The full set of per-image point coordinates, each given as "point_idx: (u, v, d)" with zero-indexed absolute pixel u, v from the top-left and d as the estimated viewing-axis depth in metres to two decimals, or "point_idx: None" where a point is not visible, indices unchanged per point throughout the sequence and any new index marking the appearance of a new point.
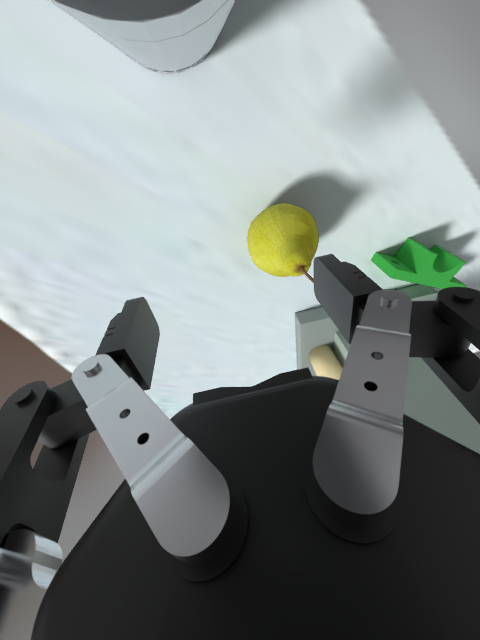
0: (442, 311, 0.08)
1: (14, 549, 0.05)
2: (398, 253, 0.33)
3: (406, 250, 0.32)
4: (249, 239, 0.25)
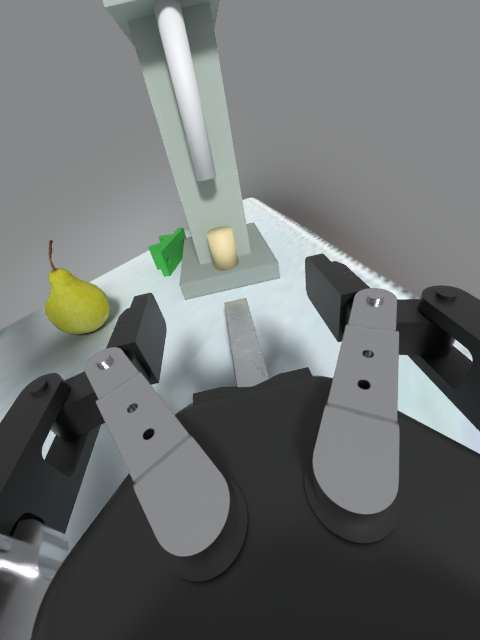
0: (427, 310, 0.08)
1: (22, 538, 0.05)
2: None
3: None
4: (57, 321, 0.31)
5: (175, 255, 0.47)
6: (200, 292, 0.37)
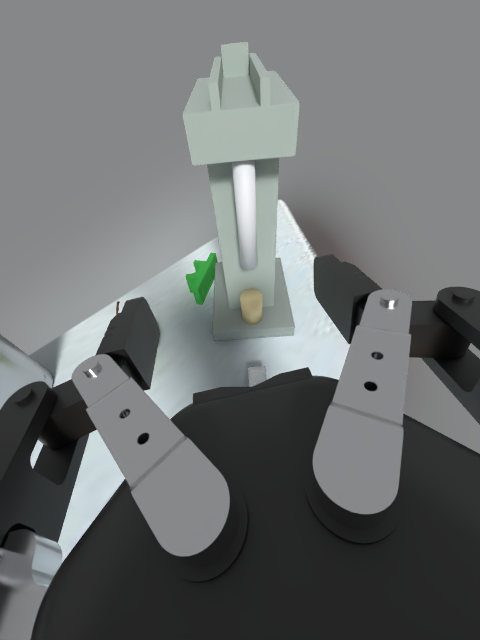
0: (442, 311, 0.08)
1: (14, 549, 0.05)
2: None
3: None
4: None
5: (207, 283, 0.54)
6: (227, 337, 0.46)
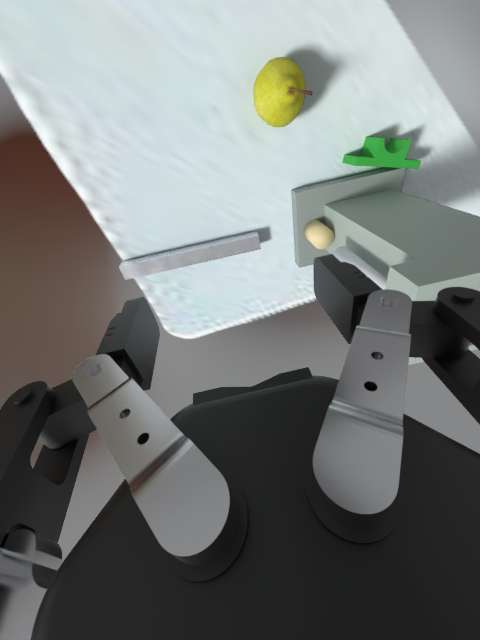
0: (442, 311, 0.08)
1: (14, 549, 0.05)
2: (362, 151, 0.43)
3: (366, 146, 0.42)
4: (255, 88, 0.34)
5: None
6: (293, 205, 0.47)
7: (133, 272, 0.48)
